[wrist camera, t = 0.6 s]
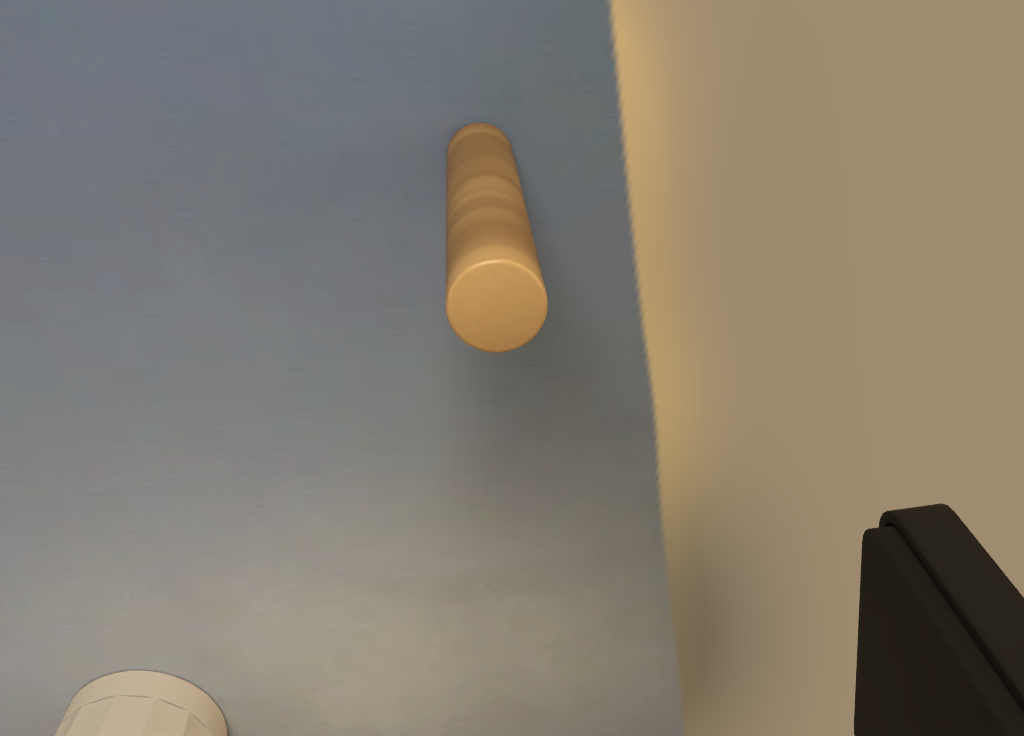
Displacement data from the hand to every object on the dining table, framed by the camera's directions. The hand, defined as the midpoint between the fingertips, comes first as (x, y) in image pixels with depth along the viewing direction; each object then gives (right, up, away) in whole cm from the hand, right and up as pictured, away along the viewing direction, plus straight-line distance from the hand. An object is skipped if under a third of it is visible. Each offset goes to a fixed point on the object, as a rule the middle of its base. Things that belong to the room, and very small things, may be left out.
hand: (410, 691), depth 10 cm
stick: (0, +10, +20) cm, 22 cm away
